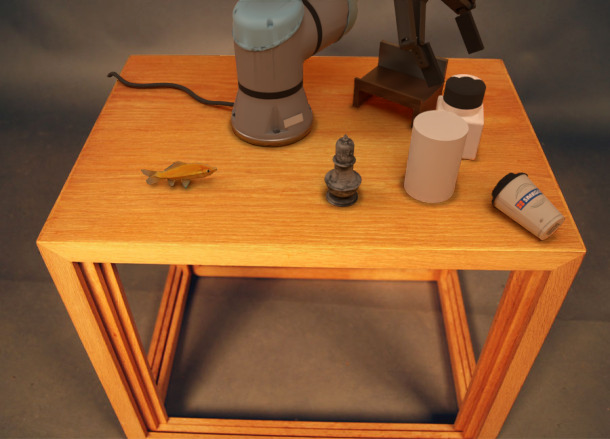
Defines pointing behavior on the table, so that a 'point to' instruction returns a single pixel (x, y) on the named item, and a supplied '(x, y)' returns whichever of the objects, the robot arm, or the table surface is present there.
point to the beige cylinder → (435, 155)
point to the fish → (180, 173)
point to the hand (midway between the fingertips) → (457, 67)
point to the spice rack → (399, 81)
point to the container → (465, 107)
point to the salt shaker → (343, 175)
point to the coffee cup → (526, 205)
